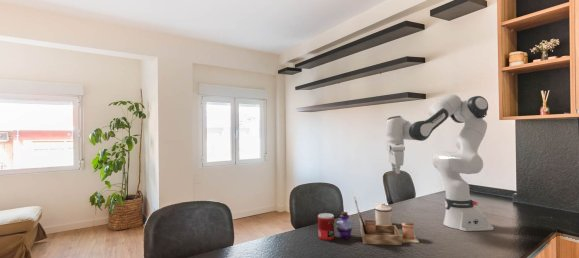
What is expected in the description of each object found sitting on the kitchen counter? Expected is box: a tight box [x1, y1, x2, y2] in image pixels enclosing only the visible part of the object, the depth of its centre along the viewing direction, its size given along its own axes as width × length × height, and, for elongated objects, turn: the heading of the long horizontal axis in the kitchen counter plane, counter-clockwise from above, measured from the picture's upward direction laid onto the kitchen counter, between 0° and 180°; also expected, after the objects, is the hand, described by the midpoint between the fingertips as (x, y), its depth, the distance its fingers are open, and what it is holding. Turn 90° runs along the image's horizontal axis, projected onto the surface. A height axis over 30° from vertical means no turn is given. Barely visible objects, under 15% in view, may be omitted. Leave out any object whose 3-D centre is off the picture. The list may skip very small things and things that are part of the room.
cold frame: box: [352, 193, 403, 246], centre depth 139 cm, size 20×15×20 cm
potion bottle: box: [335, 211, 354, 240], centre depth 142 cm, size 9×9×12 cm
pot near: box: [401, 221, 415, 239], centre depth 137 cm, size 6×6×7 cm
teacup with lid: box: [374, 202, 393, 225], centre depth 160 cm, size 12×9×12 cm
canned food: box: [317, 212, 336, 241], centre depth 141 cm, size 8×8×11 cm
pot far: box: [363, 218, 376, 235], centre depth 143 cm, size 6×6×7 cm
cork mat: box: [400, 233, 420, 244], centre depth 137 cm, size 7×10×1 cm
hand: (395, 172), depth 154 cm, fingers open, 8 cm apart
